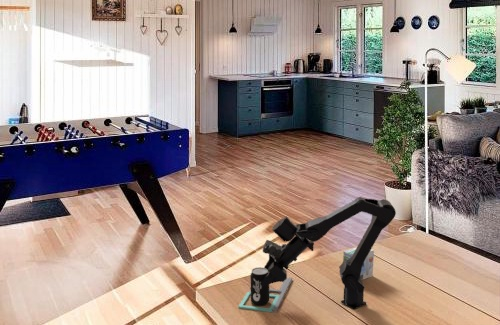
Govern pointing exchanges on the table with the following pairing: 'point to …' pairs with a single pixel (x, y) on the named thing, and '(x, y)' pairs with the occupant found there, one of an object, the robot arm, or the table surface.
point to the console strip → (282, 295)
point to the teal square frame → (258, 307)
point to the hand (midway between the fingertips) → (261, 279)
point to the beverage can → (259, 287)
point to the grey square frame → (279, 289)
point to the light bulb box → (367, 265)
